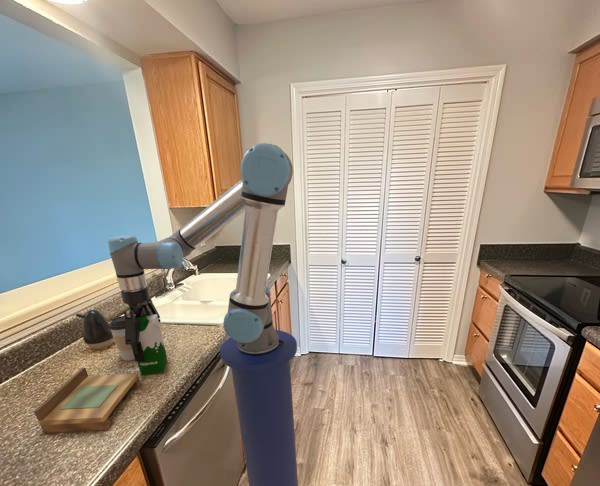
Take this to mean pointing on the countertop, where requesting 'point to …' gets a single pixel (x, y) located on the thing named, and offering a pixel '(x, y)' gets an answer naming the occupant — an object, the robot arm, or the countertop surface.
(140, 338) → the soya milk
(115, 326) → the coffee cup
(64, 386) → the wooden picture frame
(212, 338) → the countertop surface
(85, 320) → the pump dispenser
